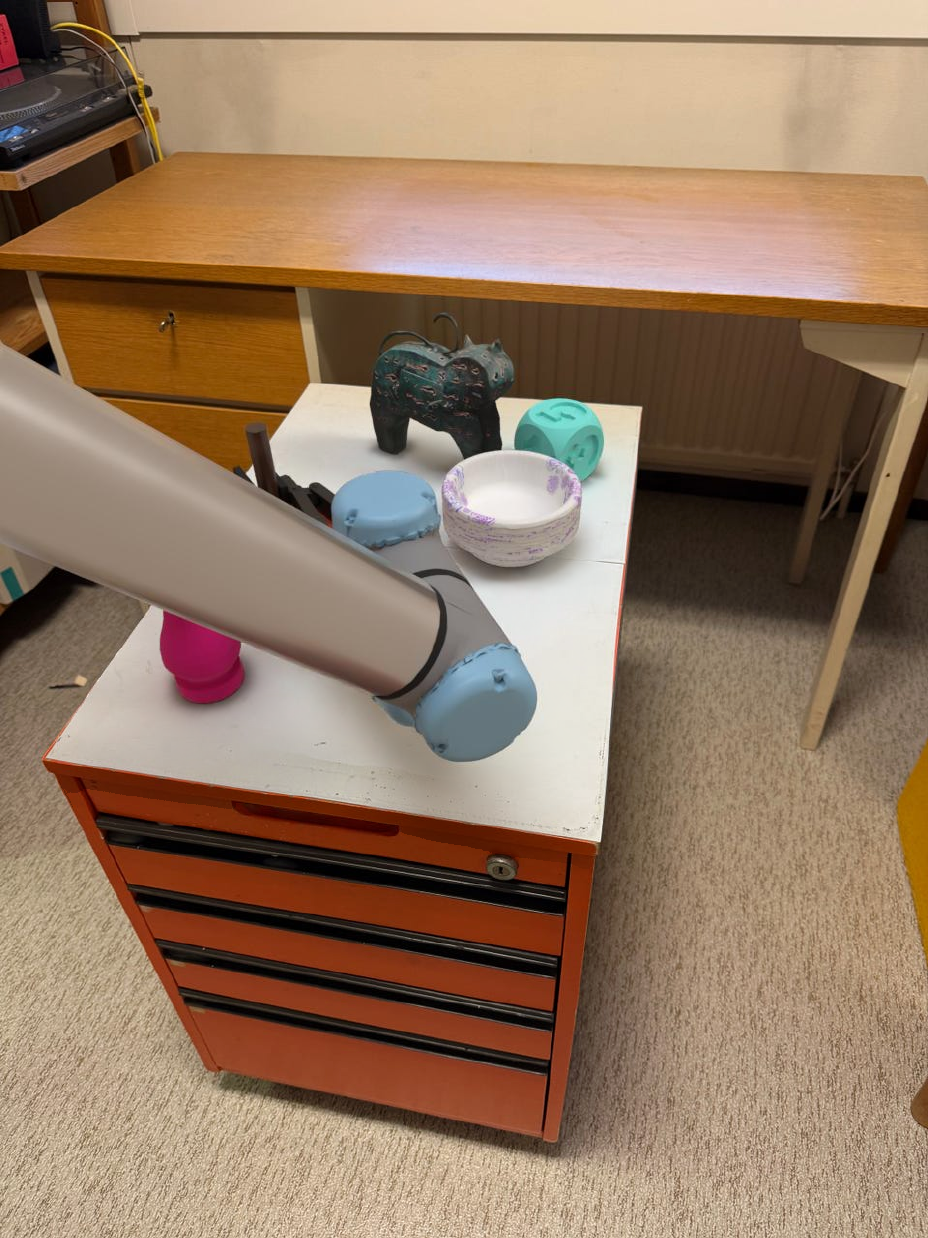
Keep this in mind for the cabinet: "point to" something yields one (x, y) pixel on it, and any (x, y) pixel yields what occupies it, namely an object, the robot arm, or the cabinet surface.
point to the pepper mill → (200, 659)
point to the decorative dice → (562, 434)
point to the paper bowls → (511, 506)
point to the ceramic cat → (440, 392)
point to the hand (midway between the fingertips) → (250, 474)
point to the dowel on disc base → (262, 458)
